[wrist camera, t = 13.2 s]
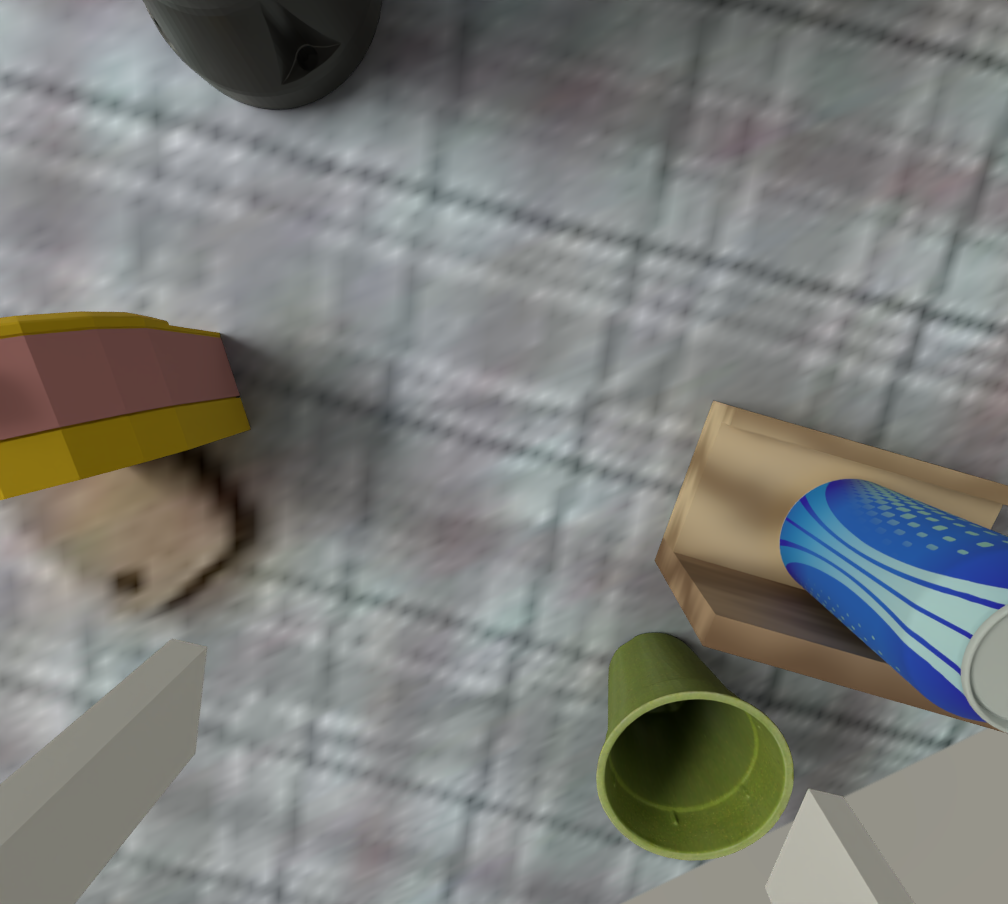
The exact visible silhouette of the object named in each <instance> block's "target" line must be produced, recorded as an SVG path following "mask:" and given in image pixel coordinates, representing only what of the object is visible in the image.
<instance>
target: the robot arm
mask: <svg viewBox="0 0 1008 904" xmlns="http://www.w3.org/2000/svg"><path fill="white" fill-rule="evenodd" d="M143 2H144V3H145V5H146V8H147V10H148V12H149V14H150V16H151V18H152V19H153V21H154V23H155V25H156V27H157V28H158V30H159V32H160V33H161V35H162V36H163V38H164V39H165V41H166V42H167V43H168V44H169V46H170V47H171V48H172V49H173V51H174V52H175V53H176V54H177V55H178V56H179V57H180V58H181V60H182V61H183V62H185V63H186V64H187V65H188V66H189V67H190V68H191V69H192V70H193V71H195V72H196V73H197V74H198V75H199V76H201V77H202V78H203V79H204V80H206V81H207V82H208V83H209V84H211V85H212V86H213V87H215V88H216V89H217V90H219V91H220V92H222V93H223V94H225V95H227V96H229V97H231V98H233V99H235V100H237V101H239V102H242V103H245V104H248V105H251V106H255V107H260V108H268V109H285V108H293V107H298V106H302V105H305V104H308V103H311V102H313V101H316V100H318V99H320V98H322V97H324V96H325V95H327V94H329V93H330V92H331V91H333V90H334V89H336V88H337V87H338V86H339V85H341V84H342V83H343V82H344V81H345V80H346V79H347V78H348V77H349V76H350V74H351V73H352V72H353V71H354V70H355V68H356V67H357V66H358V64H359V63H360V61H361V60H362V58H363V57H364V55H365V53H366V51H367V50H368V48H369V45H370V43H371V41H372V39H373V36H374V33H375V30H376V27H377V24H378V20H379V16H380V11H381V5H382V0H143ZM206 653H207V647H205V646H201V645H197V644H193V643H188V642H184V641H180V640H176V639H171V640H170V641H169V642H168V643H166V644H165V645H164V646H163V647H162V648H161V649H159V650H158V651H157V652H156V653H155V654H153V655H152V656H151V657H150V658H149V659H148V660H146V661H145V662H144V663H143V664H142V665H140V666H139V667H138V668H137V669H136V670H135V671H133V672H132V673H131V674H130V675H129V676H128V677H126V678H125V679H124V680H123V681H122V682H120V683H119V684H118V685H117V686H116V687H115V688H113V689H112V690H111V691H110V692H109V693H107V694H106V695H105V696H104V697H103V698H102V699H100V700H99V701H98V702H97V703H96V704H95V705H93V706H92V707H91V708H90V709H89V710H87V711H86V712H85V713H84V714H83V715H82V716H80V717H79V718H78V719H77V720H76V721H74V722H73V723H72V724H71V725H70V726H69V727H67V728H66V729H65V730H64V731H63V732H62V733H60V734H59V735H58V736H57V737H56V738H54V739H53V740H52V741H51V742H50V743H49V744H47V745H46V746H45V747H44V748H43V749H41V750H40V751H39V752H38V753H37V754H36V755H34V756H33V757H32V758H31V759H30V760H28V761H27V762H26V763H25V764H24V765H23V766H21V767H20V768H19V769H18V770H17V771H16V772H14V773H13V774H12V775H11V776H10V777H8V778H7V779H6V780H5V781H4V782H3V783H1V784H0V904H75V903H76V901H77V900H78V899H79V898H80V896H81V895H82V894H83V893H84V891H85V890H86V889H87V888H88V886H89V885H90V884H91V883H92V882H93V880H94V879H95V878H96V877H97V875H98V874H99V873H100V872H101V870H102V869H103V868H104V867H105V865H106V864H107V863H108V862H109V860H110V859H111V858H112V857H113V855H114V854H115V853H116V852H117V850H118V849H119V848H120V847H121V845H122V844H123V843H124V842H125V840H126V839H127V838H128V837H129V835H130V834H131V833H132V832H133V830H134V829H135V828H136V827H137V825H138V824H139V823H140V822H141V820H142V819H143V818H144V817H145V815H146V814H147V813H148V812H149V810H150V809H151V808H152V807H153V805H154V804H155V803H156V802H157V800H158V799H159V798H160V797H161V795H162V794H163V793H164V792H165V790H166V789H167V788H168V787H169V785H170V784H171V783H172V782H173V780H174V779H175V778H176V777H177V776H178V774H179V773H180V772H181V771H182V769H183V768H184V767H185V766H186V764H187V763H188V762H189V761H190V759H191V758H192V757H193V756H194V754H195V751H196V742H197V733H198V725H199V716H200V707H201V698H202V689H203V680H204V671H205V662H206ZM765 889H766V891H767V893H768V896H769V898H770V901H771V903H772V904H915V903H914V901H913V900H912V898H911V896H910V895H909V894H908V892H907V891H906V889H905V888H904V886H903V885H902V883H901V882H900V880H899V879H898V877H897V876H896V874H895V873H894V871H893V870H892V869H891V867H890V865H889V864H888V862H887V861H886V859H885V858H884V856H883V855H882V853H881V852H880V850H879V849H878V847H877V846H876V845H875V843H874V842H873V840H872V838H871V837H870V835H869V834H868V833H867V831H866V830H865V828H864V827H863V825H862V824H861V822H860V821H859V819H858V818H857V816H856V815H855V813H854V812H853V810H852V809H851V807H850V806H849V804H848V803H847V801H846V800H845V798H844V797H842V796H838V795H834V794H830V793H825V792H821V791H817V790H813V789H808V791H807V793H806V795H805V797H804V800H803V802H802V804H801V807H800V809H799V811H798V813H797V816H796V818H795V820H794V822H793V825H792V827H791V829H790V832H789V834H788V836H787V838H786V841H785V843H784V845H783V848H782V850H781V852H780V854H779V857H778V859H777V861H776V864H775V866H774V868H773V870H772V873H771V875H770V877H769V880H768V882H767V884H766V886H765Z"/></svg>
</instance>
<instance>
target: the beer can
mask: <svg viewBox="0 0 1008 904" xmlns="http://www.w3.org/2000/svg"><path fill="white" fill-rule="evenodd" d="M779 548H780V554H781V558H782V561H783V564H784V566H785V568H786V569H787V571H788V573H789V574H790V575H791V577H792V578H793V579H794V580H795V581H796V582H797V583H798V584H799V585H801V586H802V587H803V588H804V589H805V590H806V591H807V592H808V593H809V594H811V595H812V596H813V597H814V598H815V599H816V600H817V601H818V602H820V603H821V604H822V605H823V606H824V607H825V608H826V609H827V610H828V611H830V612H831V613H832V614H833V615H834V616H835V617H836V618H837V619H838V620H840V621H841V622H842V623H843V624H844V625H845V626H846V627H847V628H849V629H850V630H851V631H852V632H853V633H854V634H855V635H856V636H857V637H859V638H860V639H861V640H862V641H863V642H864V643H865V644H866V645H867V646H869V647H870V648H871V649H872V650H873V651H874V652H875V653H876V654H877V655H879V656H880V657H881V658H882V659H883V660H884V661H885V662H886V663H888V664H889V665H890V666H891V667H892V668H893V669H894V670H895V671H896V672H898V673H899V674H900V675H901V676H902V677H903V678H904V679H905V680H906V681H908V682H909V683H910V684H911V685H912V686H913V687H914V688H915V689H916V690H918V691H919V692H920V693H921V694H922V695H923V696H924V697H926V698H927V699H928V700H929V701H931V702H932V703H934V704H935V705H937V706H938V707H940V708H942V709H944V710H945V711H947V712H950V713H952V714H955V715H957V716H960V717H963V718H967V719H971V720H976V721H981V722H987V723H989V724H990V725H992V726H993V727H995V728H997V729H999V730H1001V731H1003V732H1006V733H1008V537H1007V536H1005V535H1002V534H1000V533H997V532H995V531H992V530H990V529H987V528H985V527H982V526H980V525H977V524H975V523H972V522H970V521H967V520H965V519H963V518H960V517H958V516H955V515H953V514H950V513H948V512H945V511H943V510H940V509H938V508H935V507H933V506H930V505H928V504H925V503H923V502H920V501H918V500H915V499H913V498H910V497H908V496H905V495H903V494H900V493H898V492H895V491H893V490H890V489H888V488H886V487H883V486H881V485H878V484H876V483H873V482H870V481H866V480H861V479H839V480H834V481H830V482H827V483H824V484H822V485H820V486H817V487H815V488H814V489H812V490H810V491H809V492H807V493H806V494H805V495H803V496H802V497H801V498H800V499H799V500H798V501H797V502H796V503H795V504H794V505H793V507H792V508H791V509H790V511H789V512H788V514H787V516H786V518H785V520H784V522H783V525H782V528H781V532H780V539H779Z"/></svg>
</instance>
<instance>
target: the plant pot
mask: <svg viewBox="0 0 1008 904" xmlns="http://www.w3.org/2000/svg"><path fill="white" fill-rule="evenodd" d="M608 688H609V689H608V731H607V734H606V739H605V743H604V745H603V748H602V750H601V753H600V756H599V760H598V765H597V790H598V795H599V799H600V802H601V804H602V807H603V809H604V811H605V813H606V814H607V816H608V817H609V819H610V820H611V822H612V823H613V824H614V826H615V827H616V828H617V829H618V830H619V831H620V832H621V833H622V834H623V835H624V836H625V837H627V838H628V839H629V840H630V841H632V842H633V843H635V844H636V845H638V846H640V847H641V848H643V849H645V850H647V851H650V852H652V853H655V854H658V855H661V856H664V857H668V858H674V859H680V860H707V859H714V858H719V857H723V856H726V855H729V854H732V853H735V852H737V851H739V850H741V849H744V848H746V847H747V846H749V845H751V844H753V843H754V842H756V841H757V840H759V839H760V838H761V837H763V836H764V835H765V834H766V833H767V832H768V831H769V830H770V829H771V828H772V827H773V826H774V824H775V823H776V822H777V821H778V820H779V818H780V816H781V815H782V813H783V811H784V810H785V808H786V806H787V804H788V801H789V798H790V795H791V792H792V788H793V779H794V775H793V760H792V756H791V752H790V749H789V746H788V744H787V742H786V740H785V738H784V736H783V735H782V733H781V732H780V730H779V729H778V727H777V726H776V725H775V724H774V723H773V722H772V721H771V720H770V719H769V718H768V717H767V716H766V715H765V714H764V713H763V712H762V711H760V710H759V709H757V708H756V707H754V706H753V705H751V704H749V703H748V702H746V701H744V700H741V699H740V698H739V697H737V696H736V695H735V694H733V693H732V692H730V691H729V690H728V689H727V688H726V687H725V686H724V685H723V684H722V683H721V682H720V680H719V679H718V678H717V677H716V676H715V675H714V674H713V673H712V672H711V671H710V670H709V669H708V667H707V666H706V665H705V664H704V663H703V662H702V661H701V660H700V659H699V658H698V656H697V655H696V654H695V653H694V652H693V651H692V650H691V649H690V648H689V647H688V646H687V645H686V644H685V643H683V642H682V641H681V640H679V639H677V638H675V637H673V636H671V635H667V634H664V633H645V634H641V635H638V636H636V637H634V638H633V639H632V640H630V641H629V642H627V643H625V644H624V645H622V646H620V647H619V648H618V650H617V651H616V652H615V654H614V656H613V657H612V660H611V662H610V666H609V680H608Z"/></svg>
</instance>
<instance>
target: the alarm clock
mask: <svg viewBox="0 0 1008 904" xmlns="http://www.w3.org/2000/svg"><path fill="white" fill-rule="evenodd" d="M236 396H240V395H239V392H238V389H237V385H236V382H235V379H234V376H233V373H232V370H231V367H230V364H229V361H228V358H227V355H226V352H225V349H224V346H223V342H222V339H221V338H220V333H216V332H210V331H203V330H197V329H190V328H183V327H177V326H170V325H169V324H168V322H167V321H164V320H160V319H156V318H152V317H148V316H143V315H137V314H132V313H127V312H66V313H51V314H36V315H21V316H11V317H3V318H0V500H3V499H7V498H11V497H15V496H19V495H22V494H26V493H30V492H34V491H38V490H42V489H46V488H50V487H54V486H57V485H61V484H65V483H69V482H73V481H77V480H81V479H84V478H88V477H92V476H96V475H99V474H103V473H107V472H110V471H114V470H118V469H122V468H125V467H129V466H133V465H136V464H140V463H144V462H147V461H151V460H154V459H158V458H161V457H165V456H168V455H172V454H175V453H179V452H182V451H186V450H189V449H192V448H195V447H198V446H201V445H205V444H208V443H211V442H214V441H217V440H220V439H223V438H226V437H229V436H232V435H235V434H238V433H241V432H244V431H248V430H251V429H250V425H249V422H248V419H247V416H246V413H245V410H244V407H243V404H242V401H241V398H236Z"/></svg>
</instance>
